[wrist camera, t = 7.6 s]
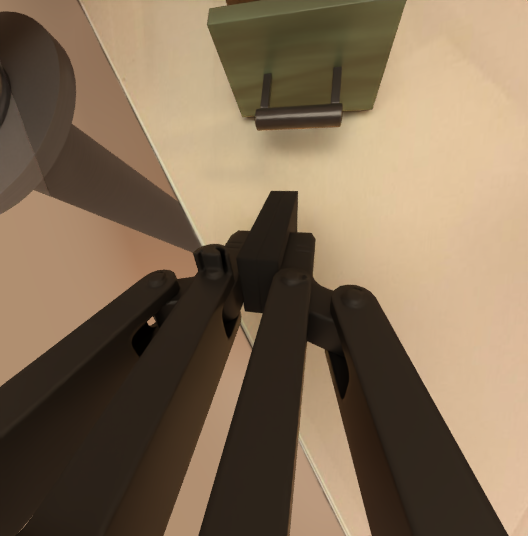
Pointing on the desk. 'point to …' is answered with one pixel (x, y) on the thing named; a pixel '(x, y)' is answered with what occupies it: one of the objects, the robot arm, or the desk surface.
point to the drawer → (304, 57)
